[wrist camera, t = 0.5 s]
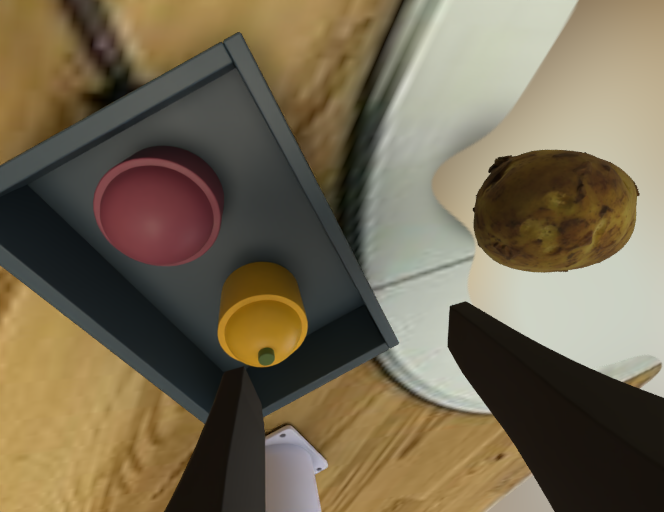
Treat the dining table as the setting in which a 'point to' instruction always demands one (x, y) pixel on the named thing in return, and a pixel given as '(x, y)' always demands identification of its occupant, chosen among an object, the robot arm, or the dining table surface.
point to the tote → (213, 266)
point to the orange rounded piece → (261, 315)
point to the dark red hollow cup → (160, 206)
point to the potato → (554, 211)
